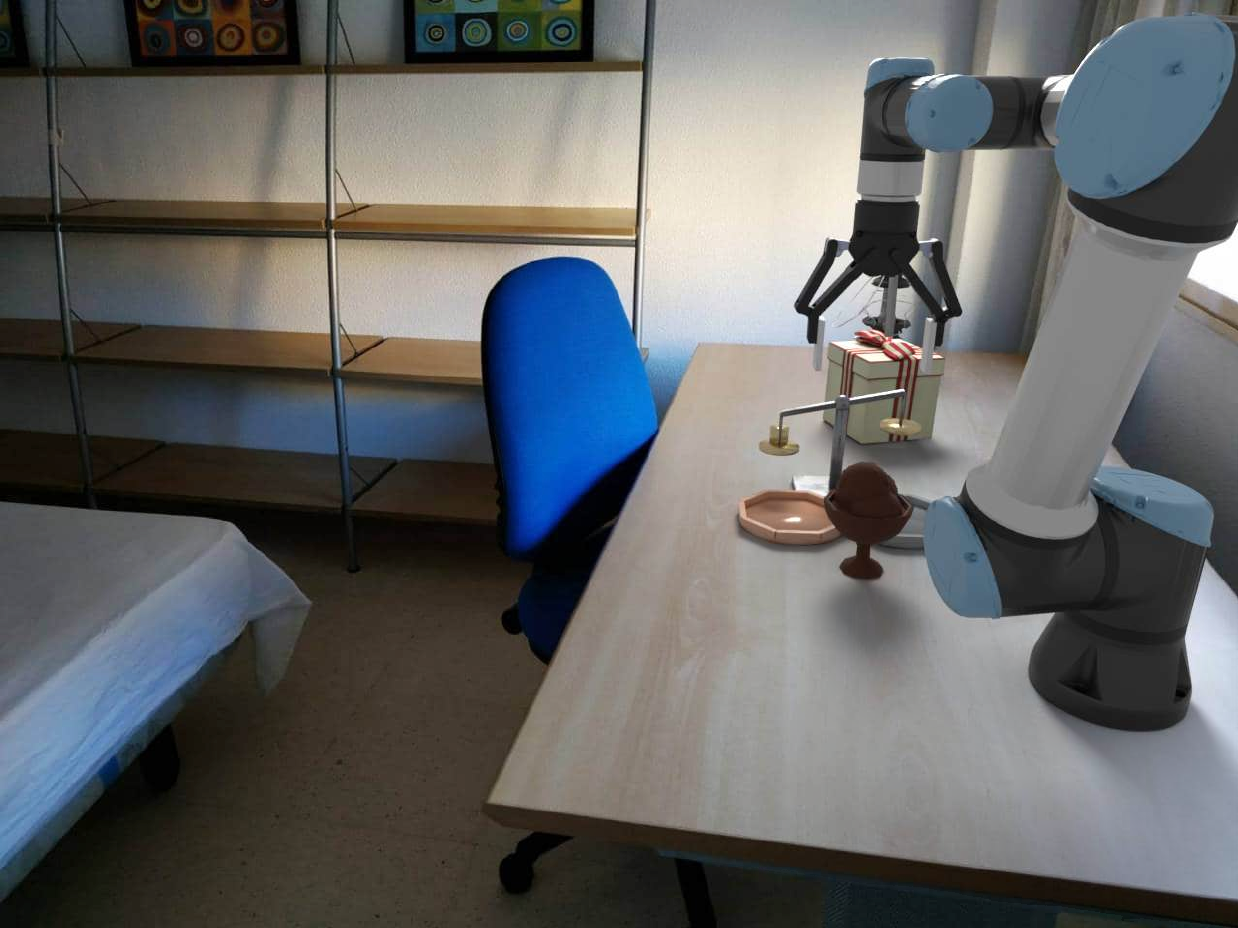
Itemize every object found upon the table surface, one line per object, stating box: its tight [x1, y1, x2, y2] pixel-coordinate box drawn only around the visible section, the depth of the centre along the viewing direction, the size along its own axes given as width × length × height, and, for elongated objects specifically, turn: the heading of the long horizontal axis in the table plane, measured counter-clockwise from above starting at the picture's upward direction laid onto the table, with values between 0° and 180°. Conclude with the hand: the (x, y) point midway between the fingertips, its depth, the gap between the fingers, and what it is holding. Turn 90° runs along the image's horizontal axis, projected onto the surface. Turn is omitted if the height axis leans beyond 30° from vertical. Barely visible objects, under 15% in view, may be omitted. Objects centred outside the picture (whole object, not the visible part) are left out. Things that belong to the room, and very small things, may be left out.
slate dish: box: [876, 492, 934, 550], centre depth 139 cm, size 15×15×2 cm
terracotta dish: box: [737, 488, 843, 546], centre depth 139 cm, size 15×15×2 cm
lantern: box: [831, 273, 915, 342], centre depth 210 cm, size 18×20×30 cm
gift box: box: [822, 329, 946, 445], centre depth 176 cm, size 17×18×17 cm
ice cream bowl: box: [824, 461, 915, 580], centre depth 124 cm, size 11×11×15 cm
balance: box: [758, 389, 921, 497], centre depth 147 cm, size 8×24×17 cm, turn 86°
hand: (870, 370), depth 124 cm, fingers open, 13 cm apart
